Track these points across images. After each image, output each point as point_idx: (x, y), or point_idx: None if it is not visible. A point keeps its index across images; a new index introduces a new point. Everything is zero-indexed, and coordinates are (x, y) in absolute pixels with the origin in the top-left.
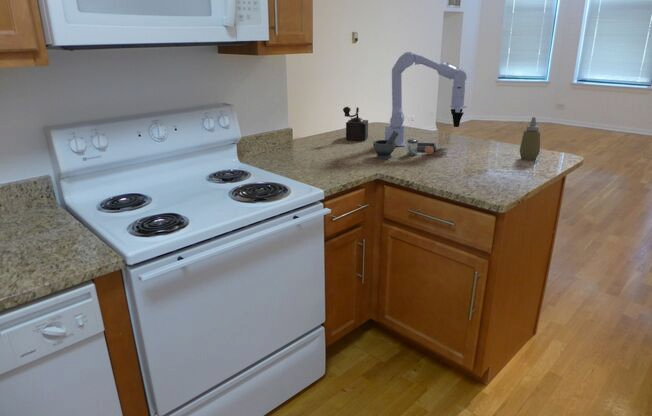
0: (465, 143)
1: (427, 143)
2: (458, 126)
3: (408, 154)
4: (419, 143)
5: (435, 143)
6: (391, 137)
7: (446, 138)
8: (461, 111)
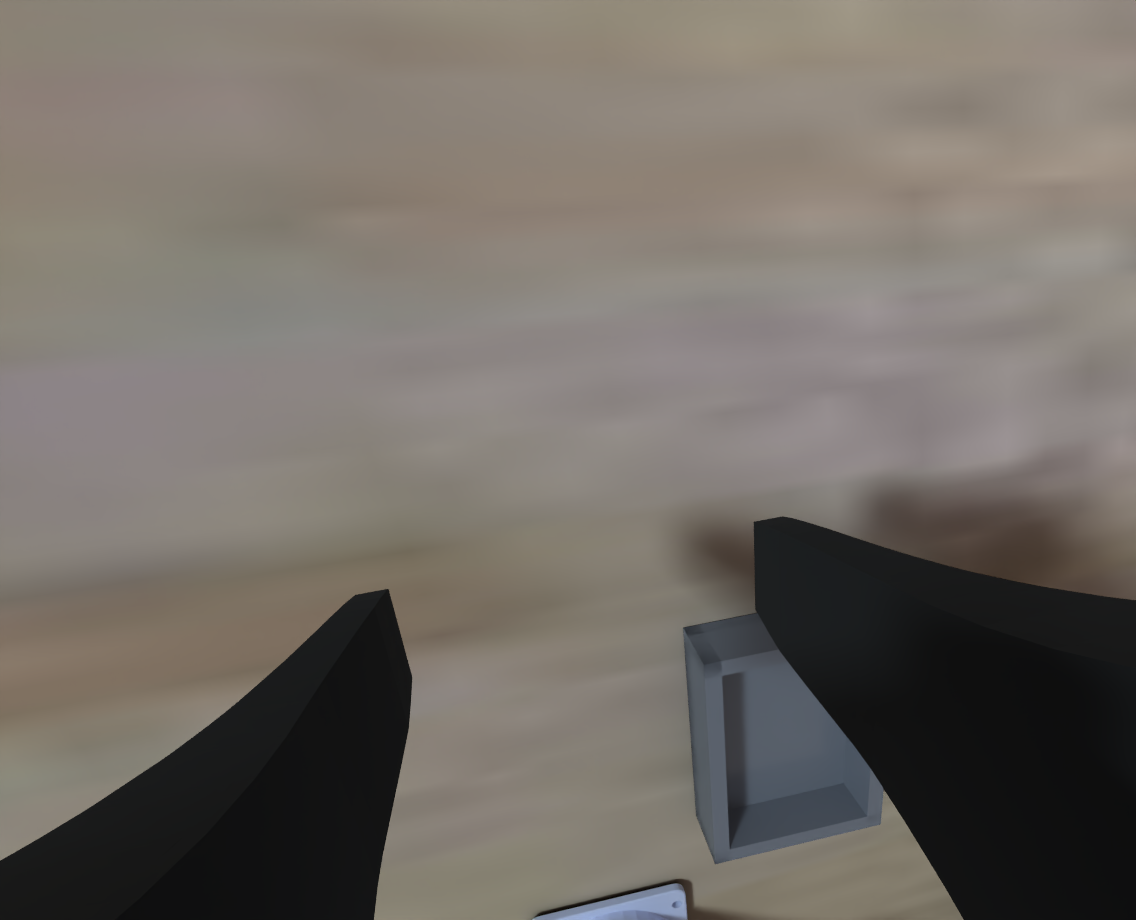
0: (306, 316)
1: (722, 735)
2: (796, 522)
3: None
4: (724, 800)
5: (730, 662)
6: None
7: (60, 616)
8: (176, 881)
